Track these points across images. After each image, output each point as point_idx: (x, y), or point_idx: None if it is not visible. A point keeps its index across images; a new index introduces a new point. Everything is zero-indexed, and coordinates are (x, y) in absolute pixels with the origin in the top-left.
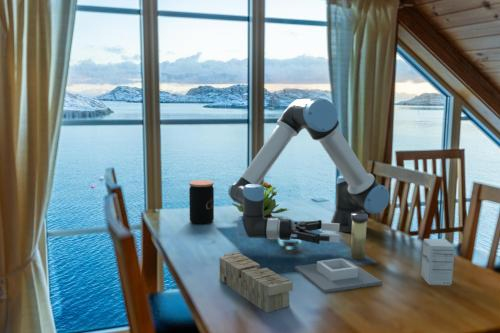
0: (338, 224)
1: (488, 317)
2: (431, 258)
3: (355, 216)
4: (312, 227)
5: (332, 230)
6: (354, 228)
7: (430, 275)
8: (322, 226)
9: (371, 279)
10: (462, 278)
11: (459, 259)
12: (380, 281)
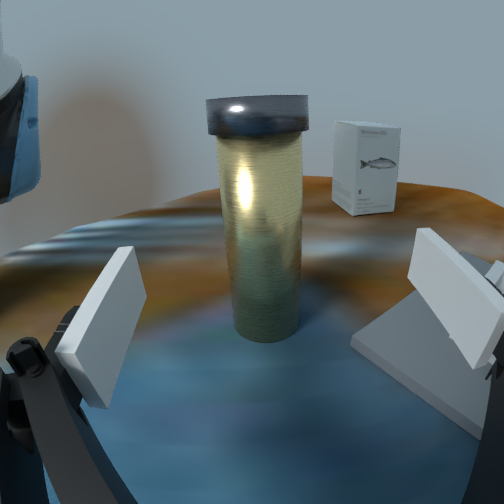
0: (131, 253)
1: (448, 189)
2: (397, 155)
3: (304, 101)
4: (120, 488)
5: (133, 328)
6: (296, 180)
7: (395, 191)
8: (93, 374)
9: (472, 264)
10: (324, 189)
11: (217, 190)
12: (466, 252)
